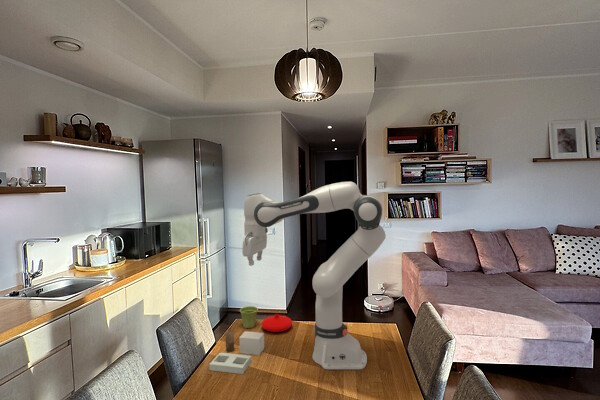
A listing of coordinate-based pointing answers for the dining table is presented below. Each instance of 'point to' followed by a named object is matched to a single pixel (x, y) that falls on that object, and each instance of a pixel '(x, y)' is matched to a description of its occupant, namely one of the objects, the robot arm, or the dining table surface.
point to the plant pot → (249, 316)
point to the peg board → (230, 363)
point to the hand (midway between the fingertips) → (255, 262)
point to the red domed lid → (276, 323)
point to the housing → (251, 343)
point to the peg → (229, 341)
